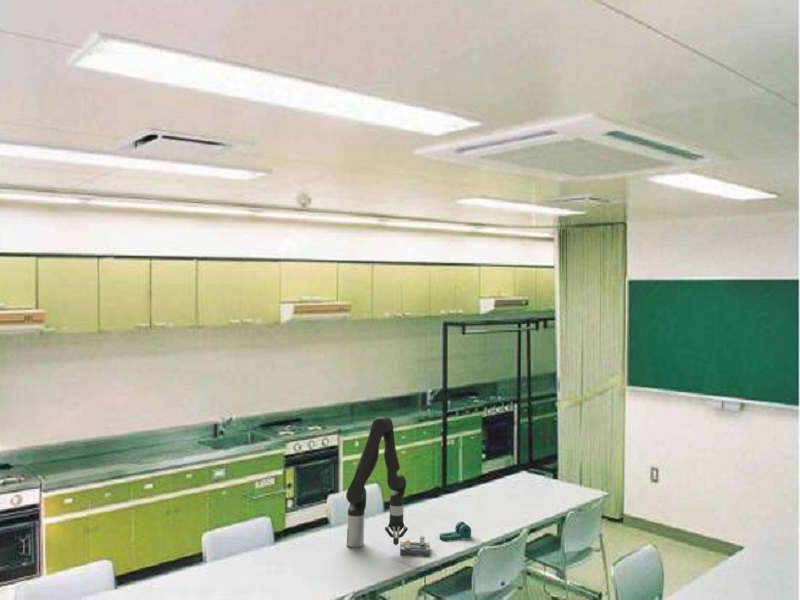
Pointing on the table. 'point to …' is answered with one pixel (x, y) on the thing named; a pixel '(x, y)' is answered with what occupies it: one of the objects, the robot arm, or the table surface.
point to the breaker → (422, 540)
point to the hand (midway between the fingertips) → (396, 544)
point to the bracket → (457, 532)
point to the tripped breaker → (407, 544)
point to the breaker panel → (415, 549)
